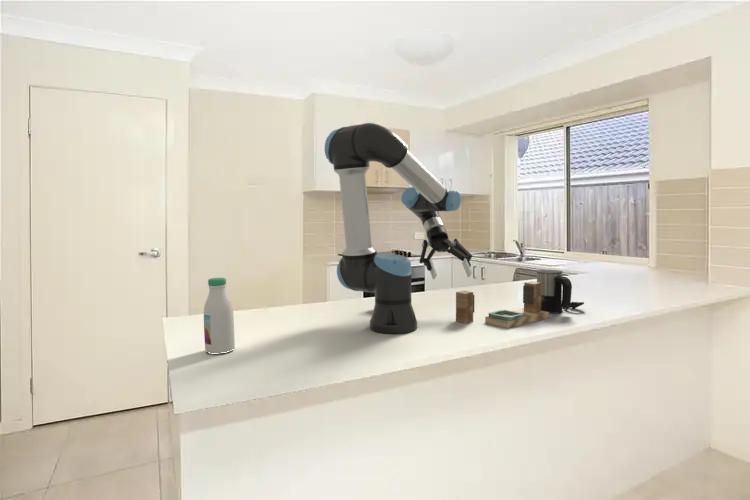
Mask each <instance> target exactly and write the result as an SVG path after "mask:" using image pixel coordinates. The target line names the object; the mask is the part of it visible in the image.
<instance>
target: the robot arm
mask: <svg viewBox="0 0 750 500" xmlns="http://www.w3.org/2000/svg"><path fill="white" fill-rule="evenodd" d="M324 155H325V157H326V159H327V160H328V162H329V163H330V164H331V165H332V166H333V172H335V173H336V174H337V175H338V177H339V188H340V199H341V208H342V209H341V210H342V219H343V229H344V238H345V239H344V240H345V249H344V250H343V251H342V254H341V255H342V256H341V258H340V260H338V264H336V265H337V266H336V275H337V279H338V281H339V283H340V284H341V285H342V286H343V287H344V288H346V289H347V290H351V291H355V292H365V293H370V294H374V307H373V311H372V313H371V317H370V320H369V329H370V330H371V331H372V332H376V333H379V334H407V333H411V332H414V331H416V330H417V329H418V321H417V318H416V314H415V311H414V308H413V304H412V273H413V271H412V265H411V264H412V263H411V260H410V259H409V258H408V257H406V256H405V255H400V254H391V253H378V251H377V249H376V248H375V247H374V246H373V245H372V238H371V237H372V236H371V235H372V234H371V224H370V212H369V211H370V210H369V201H368V189H367V187H368V186H367V177H366V174H367V171H369V169H370V162H376V163H380V164H381V165H383V166H384V167H385V168H387V169H392V170H394V172H395V173H397V174H398V175H399V176H400V177H401V178H403V180H405V181H406V183H408V184H409V185H410V187H408V188H405V190H403V192H402V194H401V197H400V199H401V201H400V202H401V203H402V204H403V205H404V206H405V207H406V208H407V209H408V210H409V211H411V212H412V213H413V214H414V215H415V216H416V217H417V218H419V220H420V221H421V224H422V226H423V229H424V232H425V234H426V238H427V239H423V242H422V244H421V246H422V251H421V254H420V257H419V261H418V262H419V264H423V266H424V267H426V270H427V271H429V272H430V275H431V278H432V280H435V279H436V278H437V275H438V274H437V271H436V268H435V265H434V263H433V260H432V258H433V256H434V255H435V253H436V252H437V253H449V254H451V255H453V257H455V258H457V259H458V260H460V261H462V262H461V264H462V267H463V270H464V271H465V274H466V277H467V278H470V277H471V275H472V274H473V272H472V269H471V267H472V264H471V260H472V258H473V255H472V254H471V252H469V250H467V249H466V248H465V247H464V246H463V245H462V244H461V243H460V242H459V240H458V239H457V238H454V239H453V240H450V239H449V235H448V233H447V230H446V227H445V224H444V222H443V221H442V218H441V215H440V213H439V212H447V213H449V212H455V211H457V210H458V209H459V208H460V207H461V203H462V198H461V194H460V192H459V191H458V190H453V189H447V188H446V187H445V186H444V185H443V184H442V183H441V182H440V180H438V179H437V178H436V177H435V176H434V175H433V173H431V171H429V169H428V168H426V167H425V166H424V165H423V164H422V163H421V162H420V161H419V160H418V159H417V158H416V157H415V156H414V155H413V154H412V153H411V152H410V151H409V147H408V144H407V143H406V142H405V141H404V140H403V139H402V138H401V137H399V135H397V134H396V133H394V132H393V131H392V130H390V129H388V128H387V127H385V126H382V125H380V124H377V123H374V122H367V123H366V122H365V123H362V124H356V125H349V126H342V127H339V128H337V129H334V130H332V131H331V132H330V133H329V134H328V136H327V137H326V139H325V143H324ZM428 247H431V250H430V252H429V253H428V255H427V257H426V252H427V249H428Z"/></svg>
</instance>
